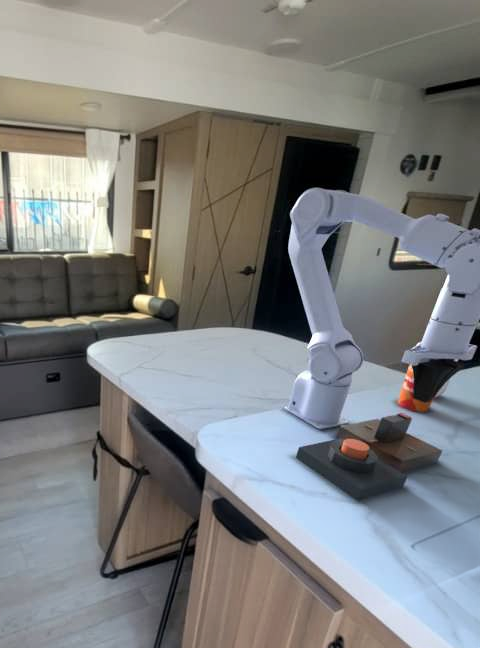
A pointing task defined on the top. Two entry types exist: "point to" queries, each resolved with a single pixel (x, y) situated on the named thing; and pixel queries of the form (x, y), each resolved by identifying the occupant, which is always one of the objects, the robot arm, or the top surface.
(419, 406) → the paper cup
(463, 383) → the top surface
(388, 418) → the lock knob
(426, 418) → the top surface
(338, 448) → the grey button base plate
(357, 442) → the orange push button
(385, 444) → the panel
